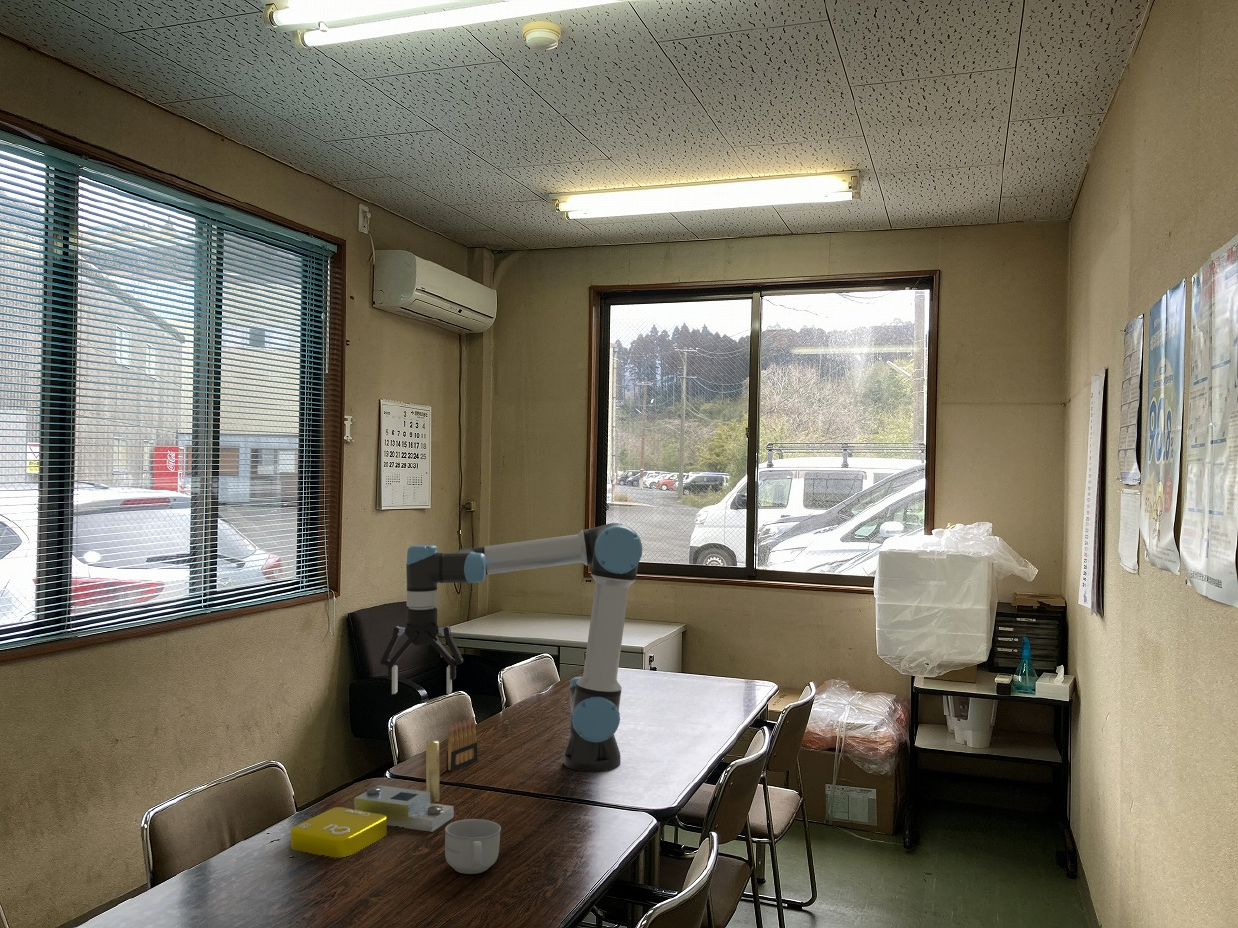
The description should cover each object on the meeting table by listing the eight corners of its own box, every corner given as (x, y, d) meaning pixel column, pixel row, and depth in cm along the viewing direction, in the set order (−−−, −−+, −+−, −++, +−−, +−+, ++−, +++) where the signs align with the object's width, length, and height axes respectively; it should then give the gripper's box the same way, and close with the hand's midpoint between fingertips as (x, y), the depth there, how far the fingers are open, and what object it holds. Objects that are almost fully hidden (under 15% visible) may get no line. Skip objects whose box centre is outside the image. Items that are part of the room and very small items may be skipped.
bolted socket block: (453, 817, 205) (453, 791, 205) (432, 831, 197) (432, 804, 197) (378, 806, 212) (378, 781, 212) (354, 820, 204) (354, 794, 204)
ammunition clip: (451, 771, 237) (451, 725, 238) (446, 770, 238) (446, 724, 239) (478, 760, 247) (477, 716, 247) (472, 759, 248) (472, 715, 248)
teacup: (448, 857, 183) (447, 817, 184) (502, 855, 184) (502, 815, 184) (440, 888, 170) (440, 844, 170) (499, 885, 170) (498, 842, 171)
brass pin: (441, 799, 217) (441, 740, 217) (434, 803, 214) (434, 743, 214) (430, 798, 218) (430, 739, 218) (423, 802, 215) (423, 742, 215)
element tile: (391, 835, 196) (390, 812, 196) (343, 862, 182) (343, 838, 183) (336, 824, 202) (336, 803, 202) (286, 850, 189) (286, 826, 189)
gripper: (474, 604, 231) (474, 689, 231) (376, 605, 231) (376, 689, 231) (469, 609, 224) (469, 696, 223) (367, 609, 224) (367, 696, 223)
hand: (422, 692), depth 227 cm, fingers open, 13 cm apart
